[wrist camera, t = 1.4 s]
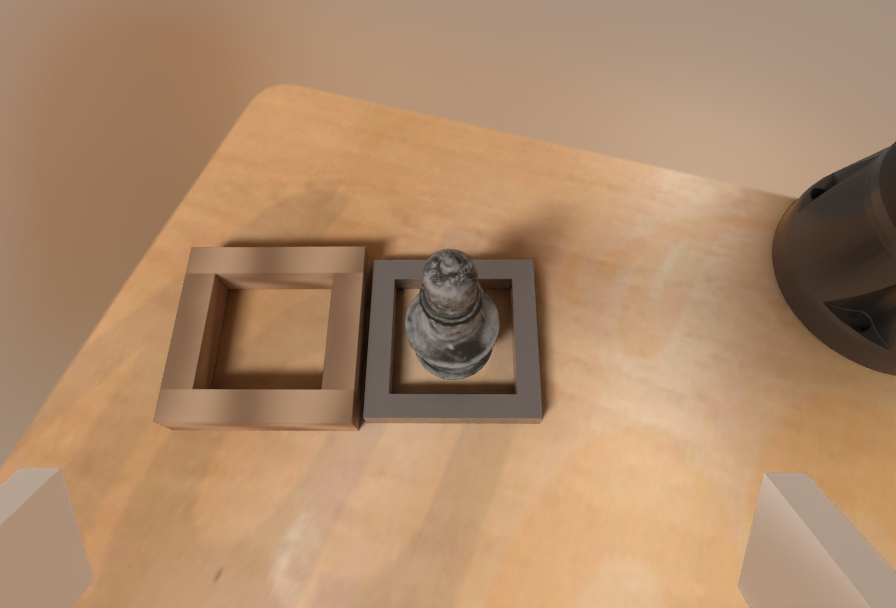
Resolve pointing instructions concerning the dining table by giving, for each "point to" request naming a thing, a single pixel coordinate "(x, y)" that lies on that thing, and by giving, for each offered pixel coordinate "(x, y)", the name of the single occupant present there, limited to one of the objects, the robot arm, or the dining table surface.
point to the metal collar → (453, 406)
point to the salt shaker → (452, 317)
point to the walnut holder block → (200, 329)
